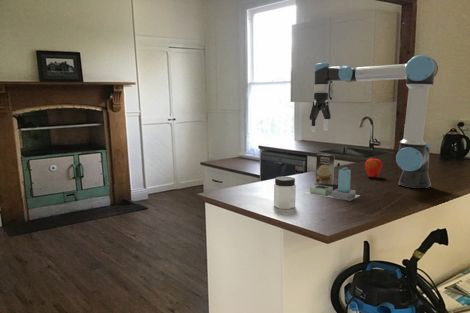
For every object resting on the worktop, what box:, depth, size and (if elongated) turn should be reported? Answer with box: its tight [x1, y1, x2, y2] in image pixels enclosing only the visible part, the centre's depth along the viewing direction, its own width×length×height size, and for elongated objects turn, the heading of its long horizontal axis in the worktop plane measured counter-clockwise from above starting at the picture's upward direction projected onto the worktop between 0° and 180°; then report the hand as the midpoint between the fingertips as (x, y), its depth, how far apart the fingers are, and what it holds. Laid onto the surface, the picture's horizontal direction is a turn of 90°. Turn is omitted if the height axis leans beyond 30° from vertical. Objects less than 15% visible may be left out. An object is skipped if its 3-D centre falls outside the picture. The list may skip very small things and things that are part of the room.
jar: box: [273, 176, 297, 210], centre depth 159 cm, size 9×8×12 cm
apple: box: [364, 157, 383, 178], centre depth 221 cm, size 9×9×12 cm
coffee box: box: [314, 153, 336, 186], centre depth 201 cm, size 9×6×16 cm
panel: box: [305, 184, 361, 201], centre depth 177 cm, size 22×12×4 cm, turn 51°
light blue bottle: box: [337, 166, 352, 193], centre depth 173 cm, size 4×4×13 cm
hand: (319, 131), depth 211 cm, fingers open, 13 cm apart
